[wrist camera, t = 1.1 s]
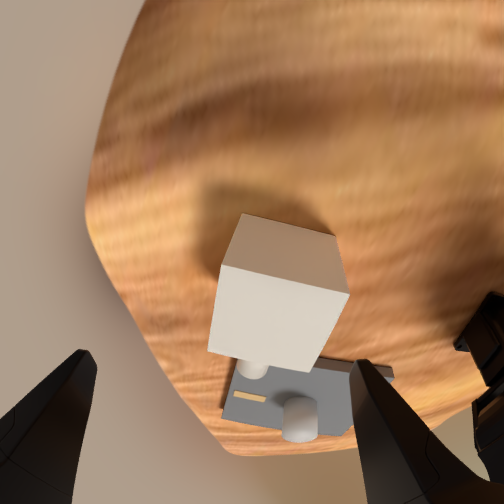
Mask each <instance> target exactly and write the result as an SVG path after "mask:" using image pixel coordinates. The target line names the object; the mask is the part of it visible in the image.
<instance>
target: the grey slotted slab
mask: <svg viewBox="0 0 504 504" xmlns="http://www.w3.org/2000/svg"><path fill="white" fill-rule="evenodd" d="M237 361H238V358H237ZM353 364H354V363H350V362H343V361H337V360H331V359H325V358H319V357H318V358H317V360H316V362H315V363H314V365H313V367H312V369H311V371H310V372H309V373H308V372H302V371H296V370H291V369H285V368H280V367H275V366H270V365H269V367H268V370H267V372H266V374H265V375H264V376H263V377H262V378H259V379H249V378H246V377H244V376H242V375H241V374H240V373H239V372H238V370H237V362H236V365H235V369H234V373H233V376H232V380H231V384H230V387H229V391H228V394H227V398H226V402H225V405H224V409H223V413H222V417H221V419H226V420H230V421H235V422H240V423H245V424H250V425H255V426H261V427H267V428H273V429H279V430H282V437H283V438H284V439H285V440H287V441H290V442H308V441H311V440H313V439H315V438H316V437H317V434H320V435H331V436H342V435H343V434H344V433H345V432H346V431H347V430H348V429H349V428H350V427H351V426H352V425H353V417H352V406H351V395H350V385H349V374H350V372H351V369H352V367H353ZM375 368H376V369H377V370H378V371H379V372H380V373H381V374H382V375H383V377H384V378H385V379H386V380H387V381H388V382H389V383H391V382H392V380H393V379H394V374H393V369H392V368H387V367H379V366H375Z"/></svg>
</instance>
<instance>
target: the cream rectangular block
mask: <svg viewBox="0 0 504 504" xmlns="http://www.w3.org/2000/svg"><path fill="white" fill-rule="evenodd" d="M349 295H350V292H349V288H348V283H347V279H346V275H345V271H344V267H343V263H342V259H341V255H340V251H339V247H338V243H337V239H336V236H333V235H329V234H325V233H321V232H318V231H314V230H310V229H306V228H302V227H298V226H294V225H290V224H286V223H282V222H277V221H273V220H269V219H265V218H261V217H257V216H252V215H248V214H244V213H242V215H241V217H240V219H239V222H238V224H237V227H236V229H235V232H234V234H233V237H232V239H231V242H230V244H229V247H228V249H227V252H226V254H225V257H224V259H223V262H222V264H221V270H220V275H219V281H218V287H217V293H216V299H215V305H214V311H213V318H212V324H211V330H210V337H209V343H208V350H207V351H209V352H213V353H217V354H221V355H225V356H229V357H233V358H238V361H237V370H238V372H239V373H240V374H241V375H242V376H244V377H246V378H249V379H259V378H262V377H263V376H264V375H265V374H266V372H267V370H268V367H269V365H270V366H275V367H280V368H285V369H291V370H296V371H302V372H308V373H309V372H310V371H311V369H312V367H313V365H314V363H315V362H316V360H317V358H318V356H319V354H320V352H321V351H322V349H323V347H324V345H325V343H326V341H327V339H328V337H329V336H330V334H331V332H332V330H333V328H334V326H335V324H336V322H337V320H338V318H339V316H340V314H341V312H342V310H343V308H344V306H345V304H346V302H347V299H348V297H349Z"/></svg>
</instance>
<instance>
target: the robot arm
mask: <svg viewBox="0 0 504 504" xmlns="http://www.w3.org/2000/svg"><path fill="white" fill-rule="evenodd" d="M454 348H455V350H456V351H464V352H470V353H471V355H472V357H473V359H474V362H475V364H476V366H477V368H478V369H479V370H480V373H481V375H482V377H483V380H484V382H485V384H486V386H487V387H489V389H488V390H487V391H486V392H485V393H483V394H482V395H481V396H480V397H479V398H478V399H475V400H474V401H473V402H472V414H473V428H474V443H475V448H476V449H477V452H478V456H479V458H480V459H481V460H482V462H483V463H484V465H485V467H486V469H487V472H488V475H489V478H490V481H487V480H485V479H483V478H481V477H479V476H477V475H476V474H475V473H474V472H473V471H471V470H470V469H469V468H468V467H467V466H466V465H465V464H464V463H463V462H461V461H460V460H459V459H458V458H457V457H456V456H455V455H454V454H452V452H451V451H450V450H449V449H448V448H446V447H445V446H444V444H443V443H442V442H441V441H440V440H439V439H438V438H437V437H436V436H435V435H434V433H433V432H432V431H431V430H430V429H429V428H428V427H427V425H426V424H425V423H424V422H423V421H422V420H421V418H420V417H419V416H418V415H417V414H416V413H415V412H414V411H413V409H412V408H411V407H410V406H409V405H408V404H407V403H406V401H405V400H404V399H403V398H402V397H401V396H400V395H399V393H398V392H397V391H396V390H395V389H394V388H393V387H392V386H391V384H390V383H389V382H388V381H387V380H386V379H385V378H384V377H383V375H382V374H381V373H380V372H379V371H378V370H377V369H376V368H375V366H374V365H373V364H372V363H371V362H370V361H369V360H368V359H357V360H356V361H355V362H354V364H353V367H352V369H351V372H350V374H349V385H350V395H351V406H352V417H353V424H354V429H355V434H356V439H357V444H358V449H359V455H360V460H361V465H362V471H363V477H364V483H365V489H366V496H367V502H368V504H504V295H503V294H499V293H496V292H490V293H489V294H488V295H487V297H486V298H485V300H484V301H483V303H482V305H481V306H480V308H479V309H478V311H477V312H476V314H475V315H474V317H473V318H472V320H471V321H470V323H469V324H468V326H467V327H466V328H465V330H464V331H463V333H462V334H461V335H460V337H459V338H458V340H457V341H456V342H455V344H454ZM96 374H97V365H96V363H95V361H94V359H93V357H92V355H91V354H90V352H89V351H88V350H82V349H78V350H76V351H75V352H74V353H73V354H72V355H71V356H69V357H68V358H67V359H66V360H65V361H64V362H63V363H62V364H61V365H59V366H58V367H57V368H56V369H55V370H54V371H53V372H51V373H50V374H49V375H48V376H47V377H46V378H45V379H43V380H42V381H41V382H40V383H39V384H38V385H37V386H36V387H35V388H34V389H32V390H31V391H30V392H29V393H28V394H27V395H26V396H25V397H24V398H23V399H22V400H20V401H19V402H18V403H17V404H16V405H15V406H14V407H13V408H12V409H11V410H10V411H9V412H7V413H6V414H5V415H4V416H3V417H2V418H1V419H0V504H72V496H73V489H74V483H75V478H76V472H77V467H78V462H79V457H80V452H81V447H82V443H83V438H84V434H85V429H86V425H87V421H88V417H89V413H90V409H91V404H92V398H93V392H94V386H95V380H96ZM429 430H430V431H429Z"/></svg>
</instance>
